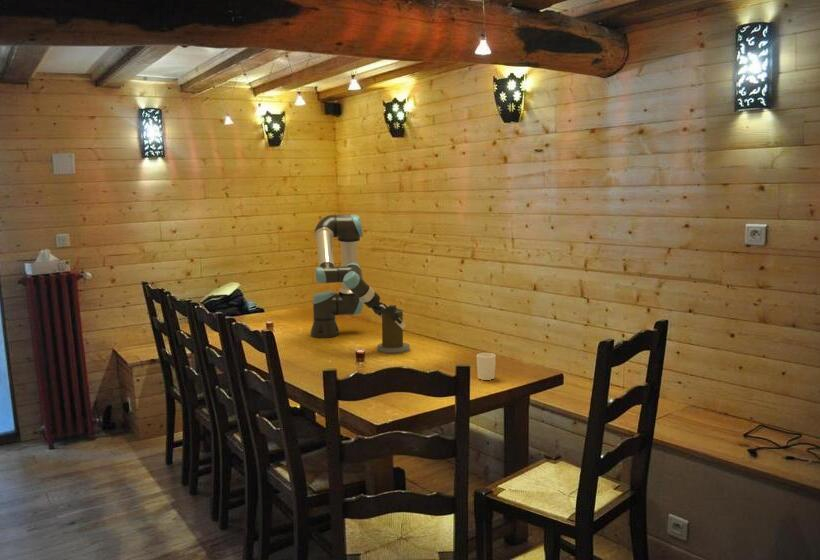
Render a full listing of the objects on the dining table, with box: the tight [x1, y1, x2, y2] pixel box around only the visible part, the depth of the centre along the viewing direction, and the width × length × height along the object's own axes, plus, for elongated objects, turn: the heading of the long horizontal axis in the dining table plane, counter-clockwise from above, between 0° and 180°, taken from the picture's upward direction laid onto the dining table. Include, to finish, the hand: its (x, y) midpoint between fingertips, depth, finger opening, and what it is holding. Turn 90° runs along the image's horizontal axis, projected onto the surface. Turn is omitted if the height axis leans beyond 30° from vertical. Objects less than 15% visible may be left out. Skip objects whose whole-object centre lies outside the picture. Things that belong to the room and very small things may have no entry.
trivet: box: [376, 342, 411, 355], centre depth 329 cm, size 16×16×2 cm
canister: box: [381, 304, 404, 348], centre depth 328 cm, size 11×10×20 cm
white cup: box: [476, 352, 497, 381], centre depth 279 cm, size 8×8×10 cm
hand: (397, 324), depth 329 cm, fingers open, 13 cm apart
